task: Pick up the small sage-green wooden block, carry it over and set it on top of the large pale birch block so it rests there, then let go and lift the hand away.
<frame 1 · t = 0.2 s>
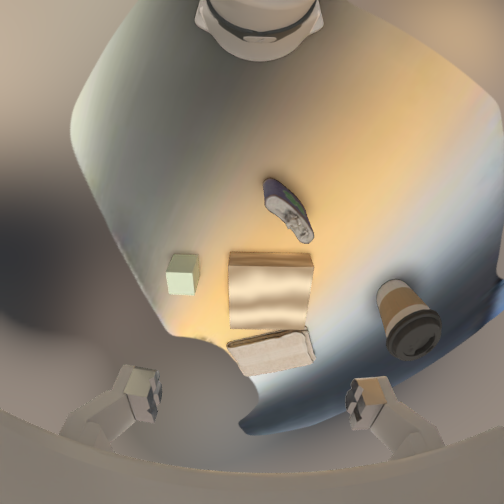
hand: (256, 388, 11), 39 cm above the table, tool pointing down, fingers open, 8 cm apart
washcloth: (272, 348, 66), on the table
sage block: (186, 265, 54), on the table
coffee cup: (391, 292, 57), on the table
birch block: (268, 284, 57), on the table
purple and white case: (285, 198, 48), on the table
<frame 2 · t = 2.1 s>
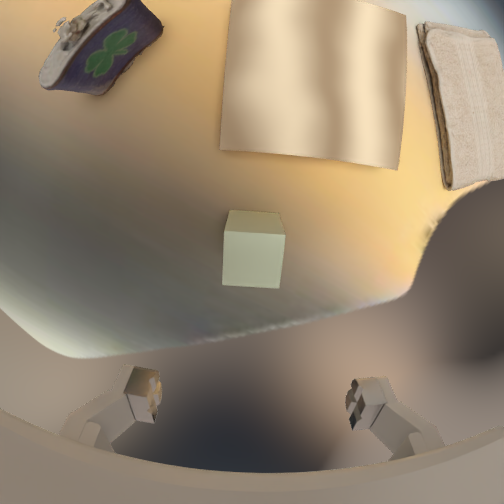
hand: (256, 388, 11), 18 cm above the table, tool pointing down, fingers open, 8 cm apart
washcloth: (466, 103, 23), on the table
sage block: (252, 234, 28), on the table
birch block: (309, 78, 23), on the table
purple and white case: (126, 56, 22), on the table
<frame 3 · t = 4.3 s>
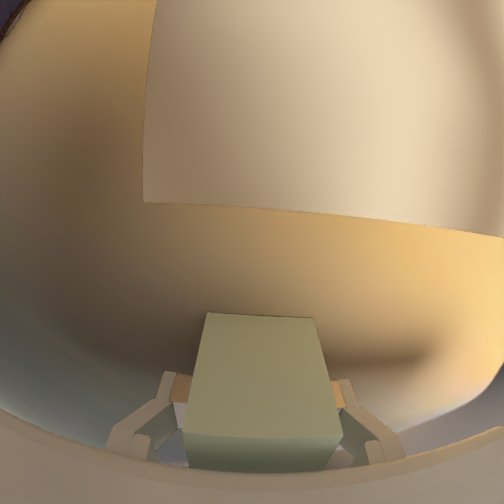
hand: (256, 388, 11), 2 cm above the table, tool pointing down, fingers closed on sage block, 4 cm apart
sage block: (256, 354, 13), on the table, touching gripper
birch block: (387, 21, 8), on the table
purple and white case: (14, 9, 7), on the table
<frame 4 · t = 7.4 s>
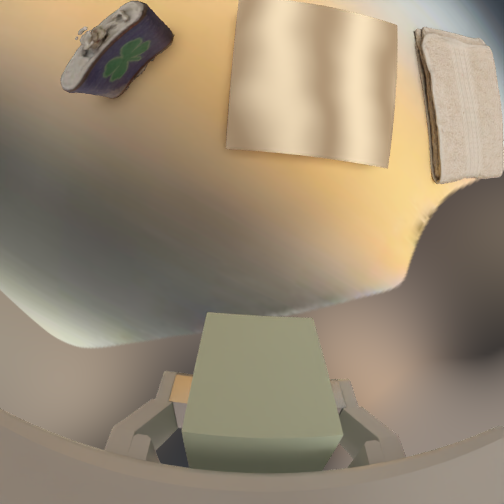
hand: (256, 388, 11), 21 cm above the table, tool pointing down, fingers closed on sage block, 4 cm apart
washcloth: (459, 105, 25), on the table
sage block: (256, 354, 13), point 19 cm above the table, touching gripper
birch block: (308, 84, 25), on the table
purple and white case: (138, 62, 24), on the table
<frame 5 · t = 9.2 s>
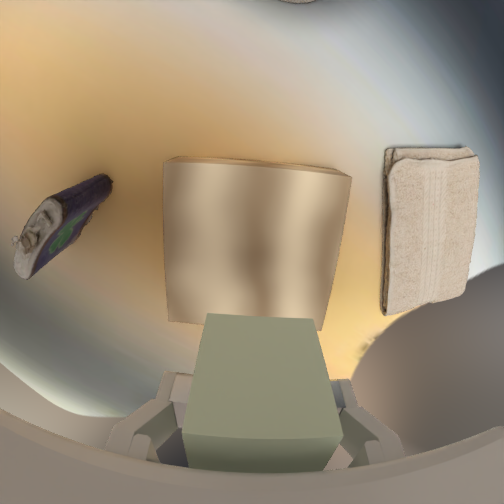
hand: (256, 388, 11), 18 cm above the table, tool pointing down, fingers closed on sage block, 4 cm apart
washcloth: (425, 227, 28), on the table
sage block: (256, 355, 13), point 16 cm above the table, touching gripper
birch block: (251, 234, 28), on the table
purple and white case: (85, 208, 27), on the table
when the fingers open (9 cm above the table, at t = 10.8 s): sage block drops 2 cm, resting on birch block.
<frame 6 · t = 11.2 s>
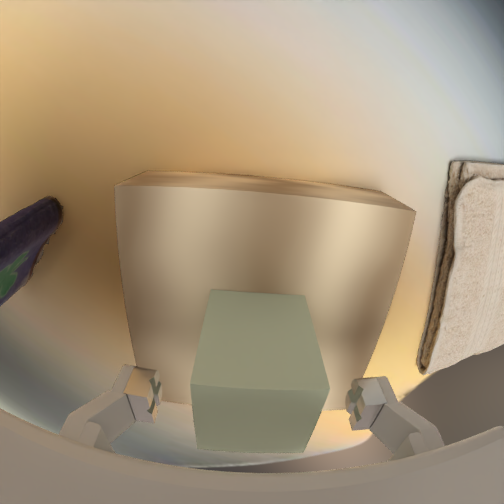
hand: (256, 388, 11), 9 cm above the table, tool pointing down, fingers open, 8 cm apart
washcloth: (481, 264, 19), on the table
sage block: (254, 329, 15), point 5 cm above the table, touching birch block
birch block: (256, 283, 20), on the table, touching sage block
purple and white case: (34, 240, 18), on the table
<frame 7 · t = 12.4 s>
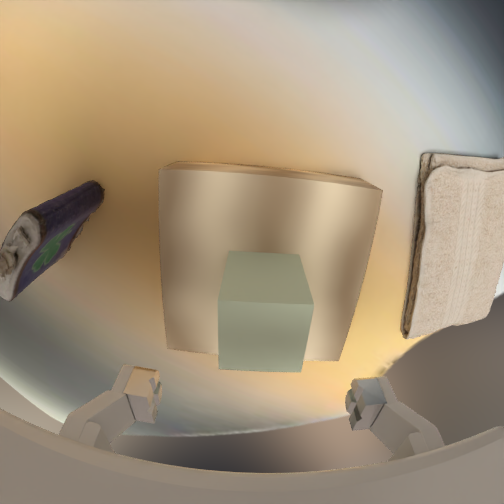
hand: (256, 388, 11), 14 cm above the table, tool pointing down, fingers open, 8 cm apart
washcloth: (455, 243, 24), on the table
sage block: (262, 283, 20), point 5 cm above the table, touching birch block
birch block: (262, 252, 25), on the table, touching sage block
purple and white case: (75, 218, 24), on the table
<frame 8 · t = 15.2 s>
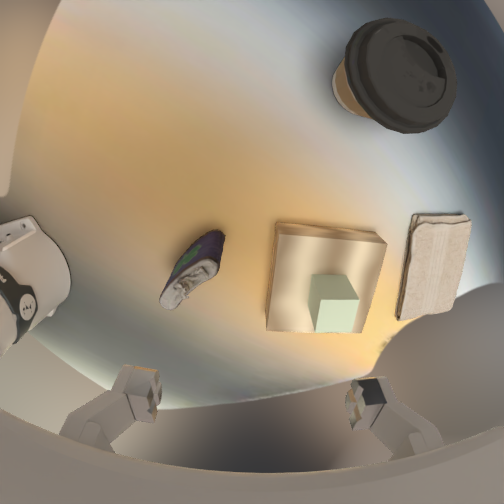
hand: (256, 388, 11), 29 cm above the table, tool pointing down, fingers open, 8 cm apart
washcloth: (430, 264, 42), on the table
sage block: (326, 290, 38), point 5 cm above the table, touching birch block
coffee cup: (357, 88, 32), on the table
birch block: (318, 272, 42), on the table, touching sage block
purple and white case: (198, 252, 41), on the table
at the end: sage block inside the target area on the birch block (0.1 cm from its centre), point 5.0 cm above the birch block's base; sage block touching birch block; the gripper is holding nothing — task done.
